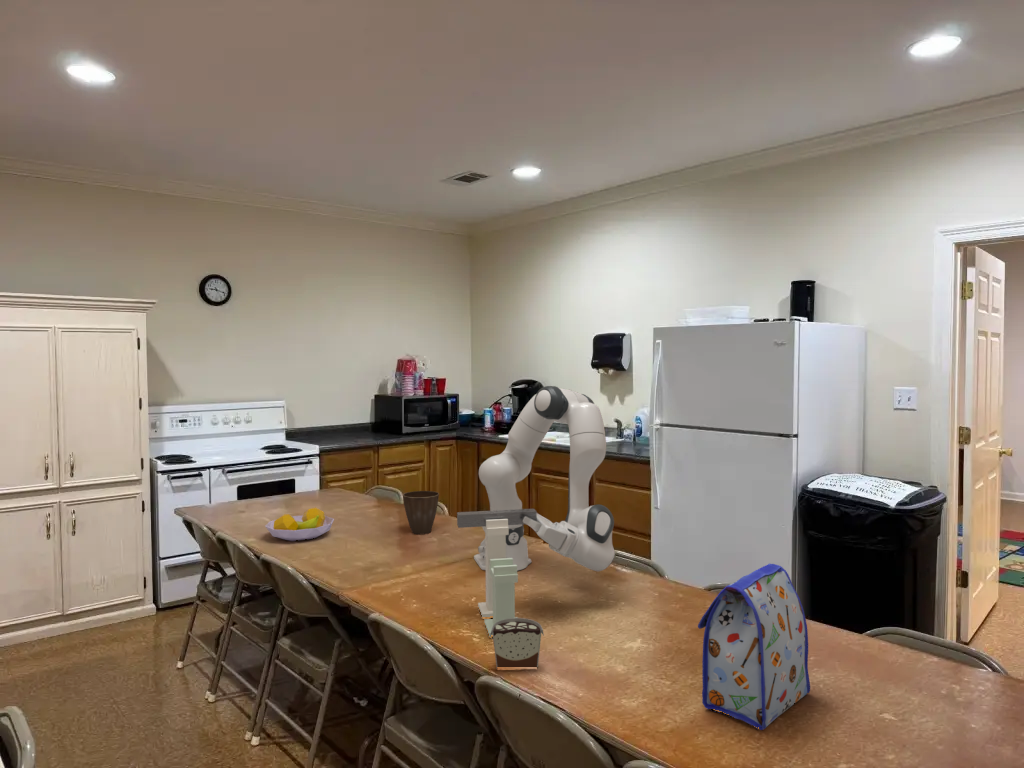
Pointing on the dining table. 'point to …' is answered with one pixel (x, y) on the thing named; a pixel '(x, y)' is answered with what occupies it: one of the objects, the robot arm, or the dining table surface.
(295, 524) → the fruit bowl
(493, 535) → the tall stand
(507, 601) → the low stand
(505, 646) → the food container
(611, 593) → the dining table surface
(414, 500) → the plant pot
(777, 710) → the lunch bag
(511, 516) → the metal bar
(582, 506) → the robot arm
